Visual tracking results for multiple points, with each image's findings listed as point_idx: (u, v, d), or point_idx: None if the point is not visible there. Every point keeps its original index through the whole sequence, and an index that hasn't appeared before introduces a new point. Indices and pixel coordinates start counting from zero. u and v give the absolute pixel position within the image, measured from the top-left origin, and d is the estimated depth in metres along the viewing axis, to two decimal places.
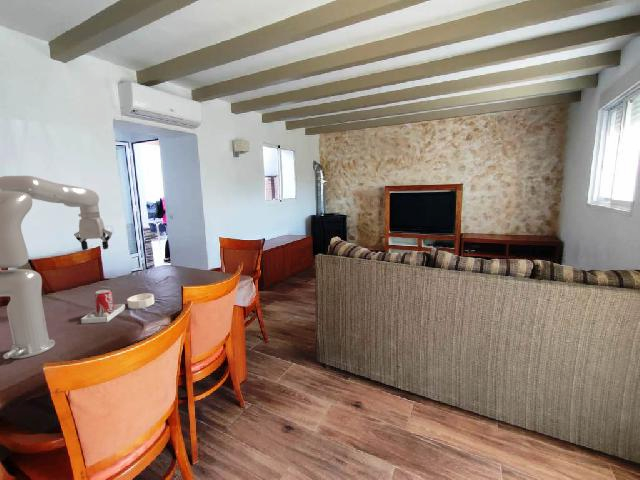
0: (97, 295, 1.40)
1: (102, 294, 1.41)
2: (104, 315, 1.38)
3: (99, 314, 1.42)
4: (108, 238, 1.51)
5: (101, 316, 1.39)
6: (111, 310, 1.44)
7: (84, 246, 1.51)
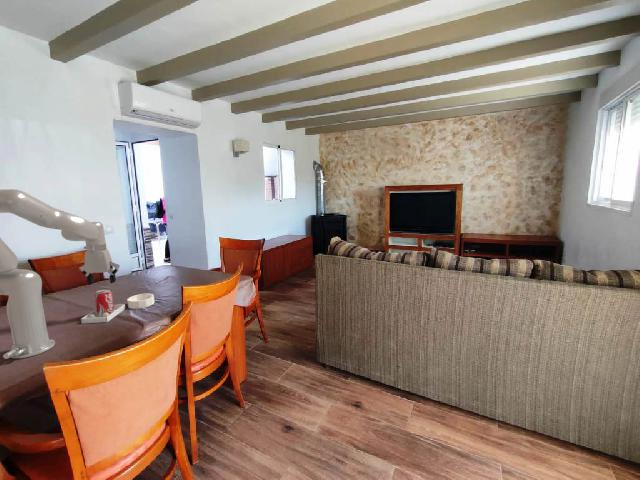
0: (97, 295, 1.40)
1: (102, 294, 1.41)
2: (104, 315, 1.38)
3: (99, 314, 1.42)
4: (115, 271, 1.42)
5: (101, 316, 1.39)
6: (111, 310, 1.44)
7: (90, 280, 1.41)
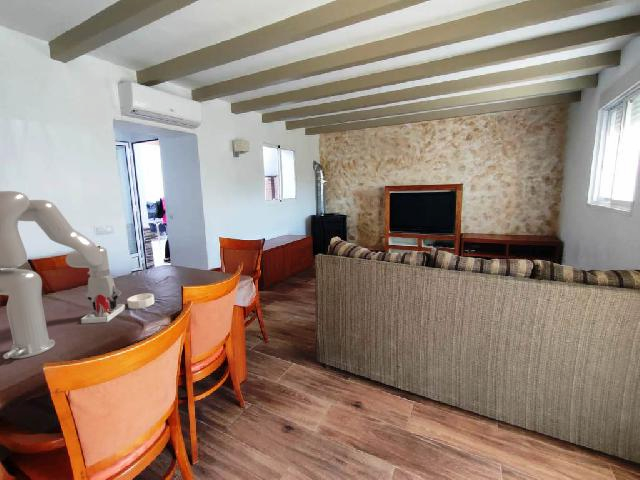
0: (97, 295, 1.40)
1: None
2: (104, 315, 1.38)
3: (99, 314, 1.42)
4: (116, 297, 1.44)
5: (101, 316, 1.39)
6: (111, 310, 1.44)
7: None
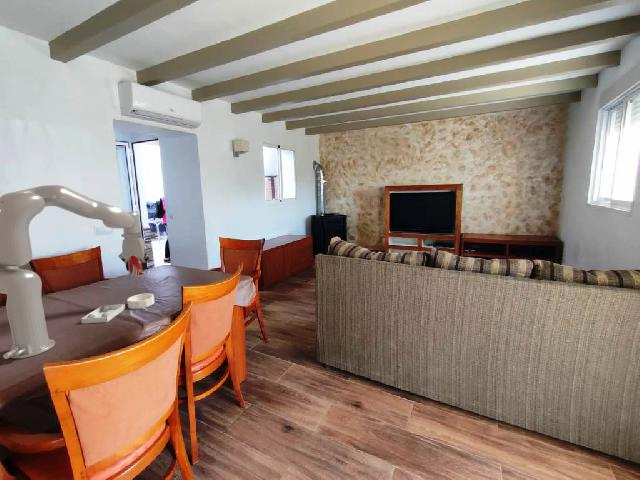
0: (130, 256, 1.51)
1: None
2: (104, 315, 1.38)
3: (132, 274, 1.52)
4: (147, 259, 1.54)
5: (101, 316, 1.39)
6: (142, 271, 1.54)
7: (128, 267, 1.53)
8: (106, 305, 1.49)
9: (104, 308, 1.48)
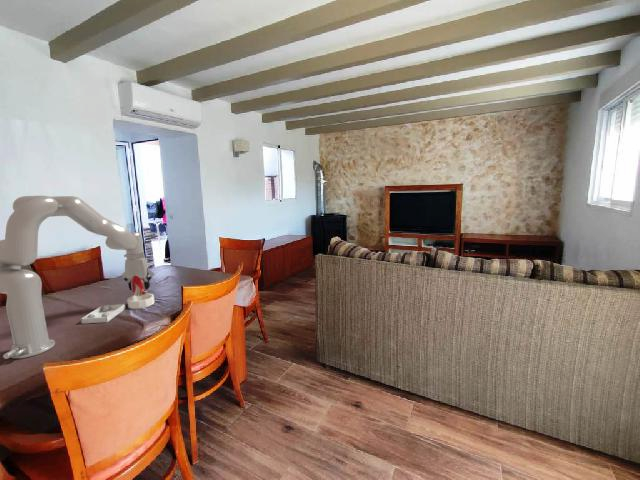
0: (133, 276, 1.52)
1: None
2: (104, 315, 1.38)
3: (135, 293, 1.54)
4: (150, 278, 1.56)
5: (101, 316, 1.39)
6: (145, 290, 1.56)
7: None
8: (106, 305, 1.49)
9: (104, 308, 1.48)
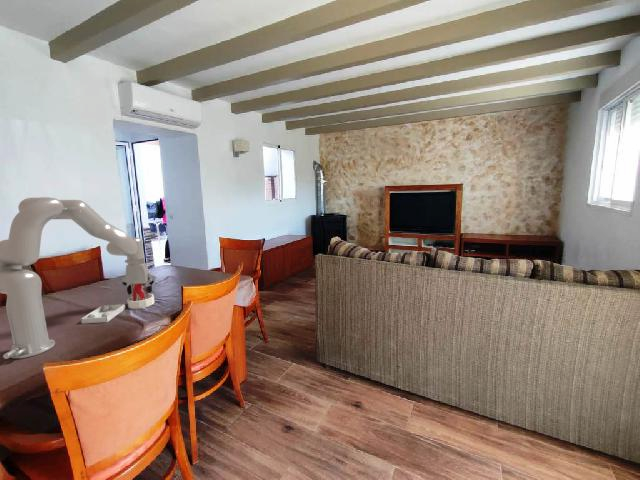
0: (134, 285, 1.53)
1: (138, 284, 1.53)
2: (104, 315, 1.38)
3: None
4: (152, 282, 1.56)
5: (101, 316, 1.39)
6: None
7: (129, 290, 1.55)
8: (106, 305, 1.49)
9: (104, 308, 1.48)
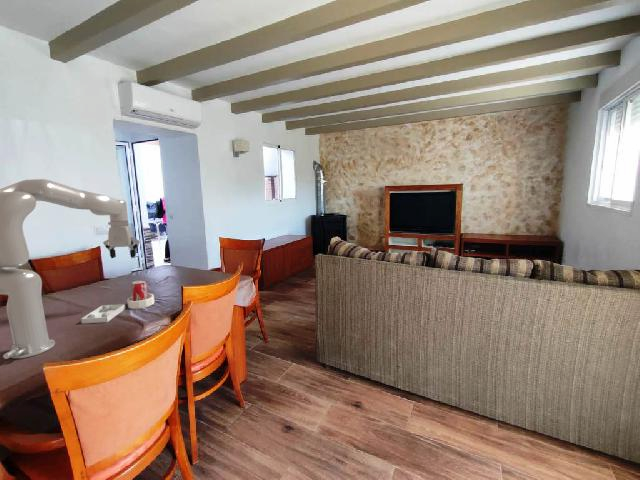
0: (134, 285, 1.53)
1: (138, 284, 1.54)
2: (104, 315, 1.38)
3: None
4: (136, 246, 1.52)
5: (101, 316, 1.39)
6: None
7: (112, 254, 1.52)
8: (106, 305, 1.49)
9: (104, 308, 1.48)
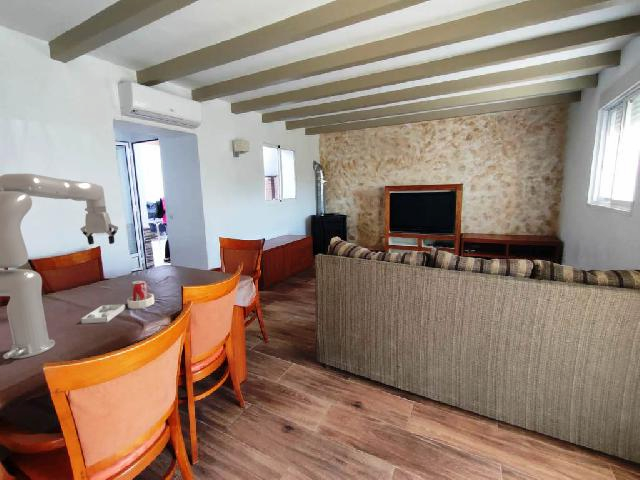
0: (134, 285, 1.53)
1: (138, 284, 1.54)
2: (104, 315, 1.38)
3: None
4: (114, 233, 1.51)
5: (101, 316, 1.39)
6: None
7: (90, 240, 1.50)
8: (106, 305, 1.49)
9: (104, 308, 1.48)
